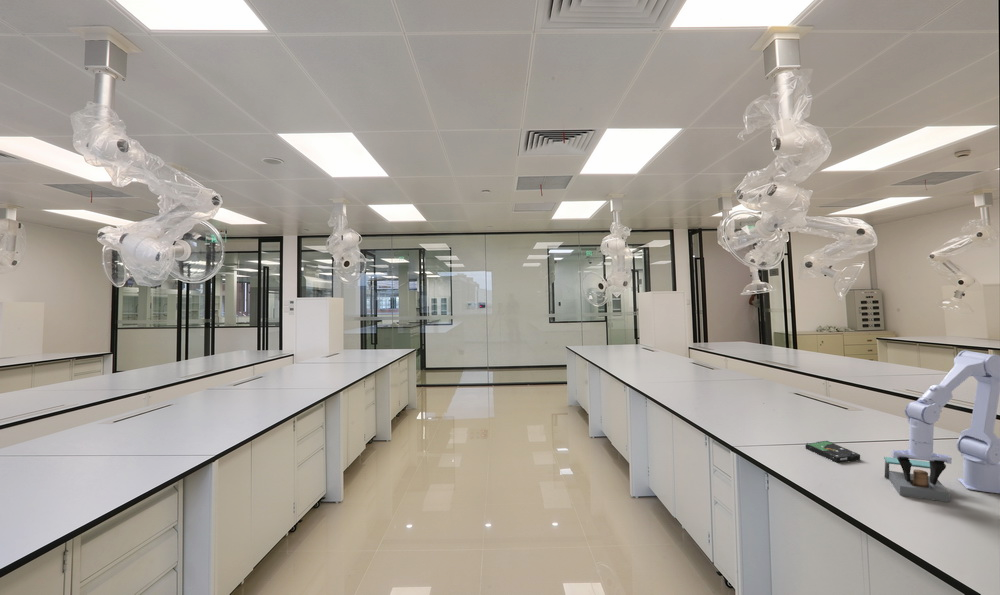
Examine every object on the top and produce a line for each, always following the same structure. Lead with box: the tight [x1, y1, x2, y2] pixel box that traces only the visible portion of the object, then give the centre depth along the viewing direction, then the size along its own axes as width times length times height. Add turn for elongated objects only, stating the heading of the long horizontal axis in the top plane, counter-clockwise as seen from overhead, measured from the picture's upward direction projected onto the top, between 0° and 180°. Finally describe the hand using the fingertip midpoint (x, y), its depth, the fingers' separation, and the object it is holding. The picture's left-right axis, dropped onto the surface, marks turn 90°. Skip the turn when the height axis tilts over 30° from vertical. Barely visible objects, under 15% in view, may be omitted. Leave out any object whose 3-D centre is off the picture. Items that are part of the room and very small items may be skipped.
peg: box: [912, 469, 929, 488], centre depth 152 cm, size 4×4×7 cm
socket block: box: [888, 470, 951, 503], centre depth 154 cm, size 12×12×3 cm
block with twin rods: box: [883, 456, 930, 479], centre depth 159 cm, size 14×4×7 cm, turn 64°
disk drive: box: [805, 440, 861, 464], centre depth 184 cm, size 10×3×15 cm
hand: (920, 481), depth 152 cm, fingers open, 6 cm apart
